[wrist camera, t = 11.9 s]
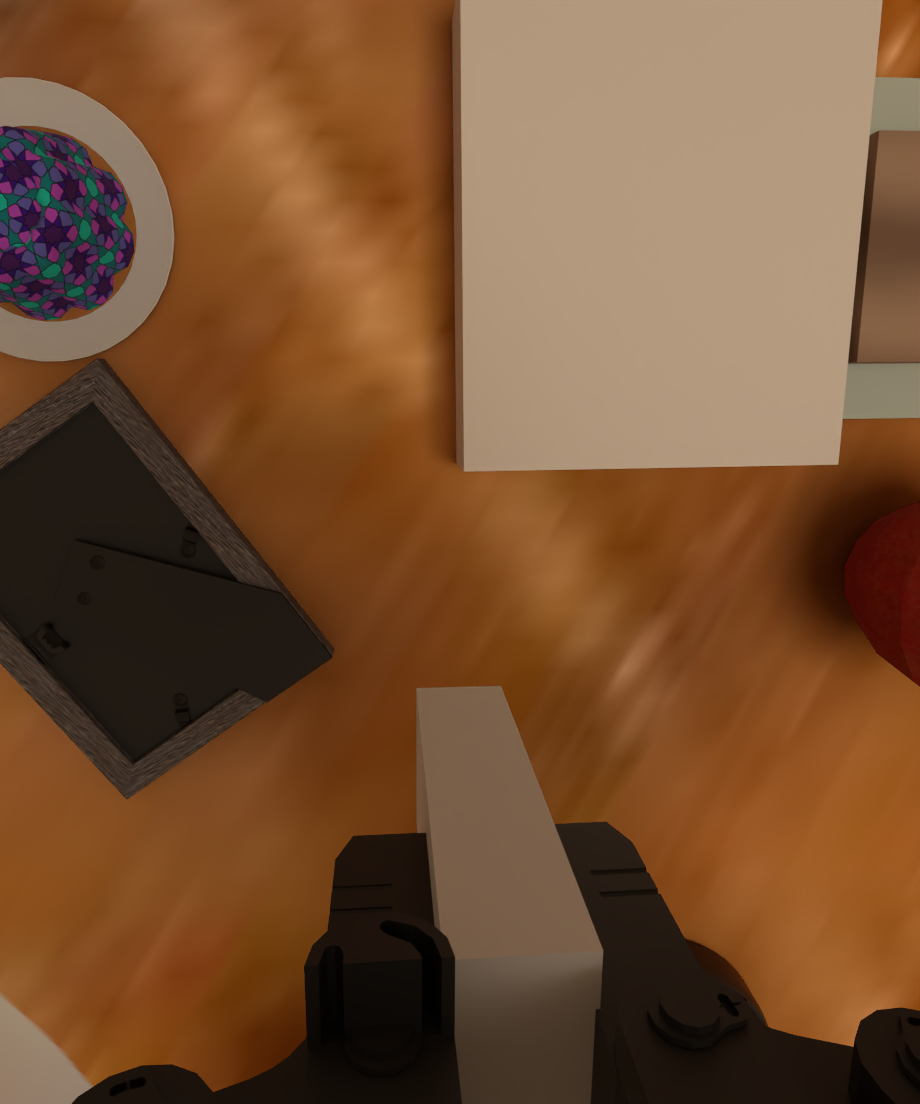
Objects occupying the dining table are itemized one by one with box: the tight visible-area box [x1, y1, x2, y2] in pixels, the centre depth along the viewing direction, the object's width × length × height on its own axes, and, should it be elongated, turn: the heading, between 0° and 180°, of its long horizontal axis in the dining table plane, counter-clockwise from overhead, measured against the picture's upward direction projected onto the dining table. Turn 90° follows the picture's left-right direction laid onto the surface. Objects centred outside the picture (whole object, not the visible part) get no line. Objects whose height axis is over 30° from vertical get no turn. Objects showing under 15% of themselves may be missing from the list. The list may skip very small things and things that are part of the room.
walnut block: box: [848, 130, 920, 364], centre depth 37 cm, size 10×7×3 cm
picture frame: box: [0, 359, 334, 799], centre depth 38 cm, size 13×2×18 cm
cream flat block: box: [452, 0, 883, 472], centre depth 36 cm, size 20×18×4 cm
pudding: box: [0, 77, 174, 361], centre depth 33 cm, size 12×12×5 cm
